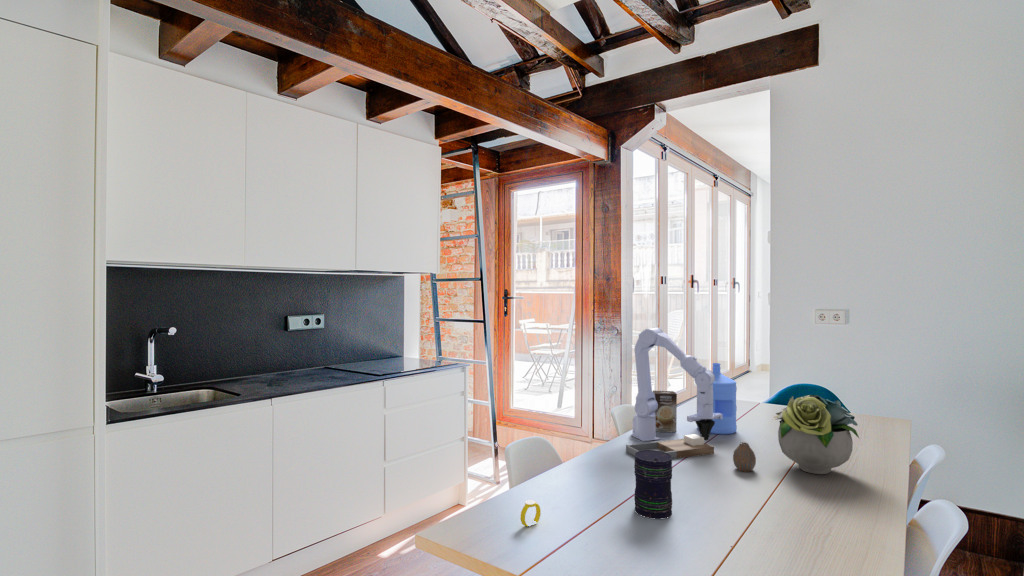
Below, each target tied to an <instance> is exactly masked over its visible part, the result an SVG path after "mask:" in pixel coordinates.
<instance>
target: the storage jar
mask: <svg viewBox="0 0 1024 576" xmlns="http://www.w3.org/2000/svg"><path fill="white" fill-rule="evenodd" d="M672 461H673V459H672V456H671V455H670V454H668V453H665V452H661V451H655V450H642V451H638V452H636V453H635V457H634V466H633V467H634V468H633V469H634V476H635V488H634V496H633V497H634V499H633V500H634V512H635V511H636V512H637V513H638V514H637V513H636V514H637V515H639V514H640V515H642V516H641V517H643V516H645V517H644V518H646V517H649V518H648V519H650V518H655V519H654V520H662V519H661V518H665V519H667V517H668V518H670V517H671V516H672V515H673V511H672V508H673V492H672V479H673V462H672ZM640 515H639V516H640Z"/></svg>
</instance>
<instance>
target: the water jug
mask: <svg viewBox="0 0 1024 576" xmlns="http://www.w3.org/2000/svg"><path fill="white" fill-rule="evenodd" d="M711 364H712V373H713V374H714V376H715V381H714V383H713V413H721V414H723V419H712V421H715V424H714V426H713V427H712V429H711V432H710V434H713V435H732V434H735V433H736V432H737V389H738V388H737V381H735V380H734V379H732V378H730V377H729V376H726V375H724V374H722V372H721V363H719V362H717V363H716V362H712V363H711ZM711 385H712V384H711ZM709 386H710V385H709ZM696 428H697V429H698V430H699V428H698V426H697V425H696Z"/></svg>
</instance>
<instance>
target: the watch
mask: <svg viewBox="0 0 1024 576" xmlns="http://www.w3.org/2000/svg"><path fill="white" fill-rule="evenodd" d="M533 507H535V516H534V518H533V520H534V521H536V522H537V523H539V521H540V518H541V514H542V513H541V511H542V510H541V507H540V505H539V504H538V503H537V501H536V500H533V499H527V500H525V502H524V505H523V507H522V509H521V512H520V522H521V525H522V526H524V525H525V526H524V527H526V526H528V525H527V524H528V523H527V522H526V513H527V511H528V509H529V508H533Z"/></svg>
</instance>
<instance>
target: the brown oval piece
mask: <svg viewBox="0 0 1024 576" xmlns="http://www.w3.org/2000/svg"><path fill="white" fill-rule="evenodd" d="M732 461H733V465H734V467H735V468H736V469H737V470H738V471H740V472H744V473H745V472H746V473H747V472H751V471H753V470H754V468H755V467H756V463H757V457H756V454H755V451H754V450H753V449H752V448H751V446H750V445H749V443H748V442H744V441H743V442H740V443H739V445H738V446H737V447H736V448H735V449H734V451H733V454H732Z"/></svg>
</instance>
